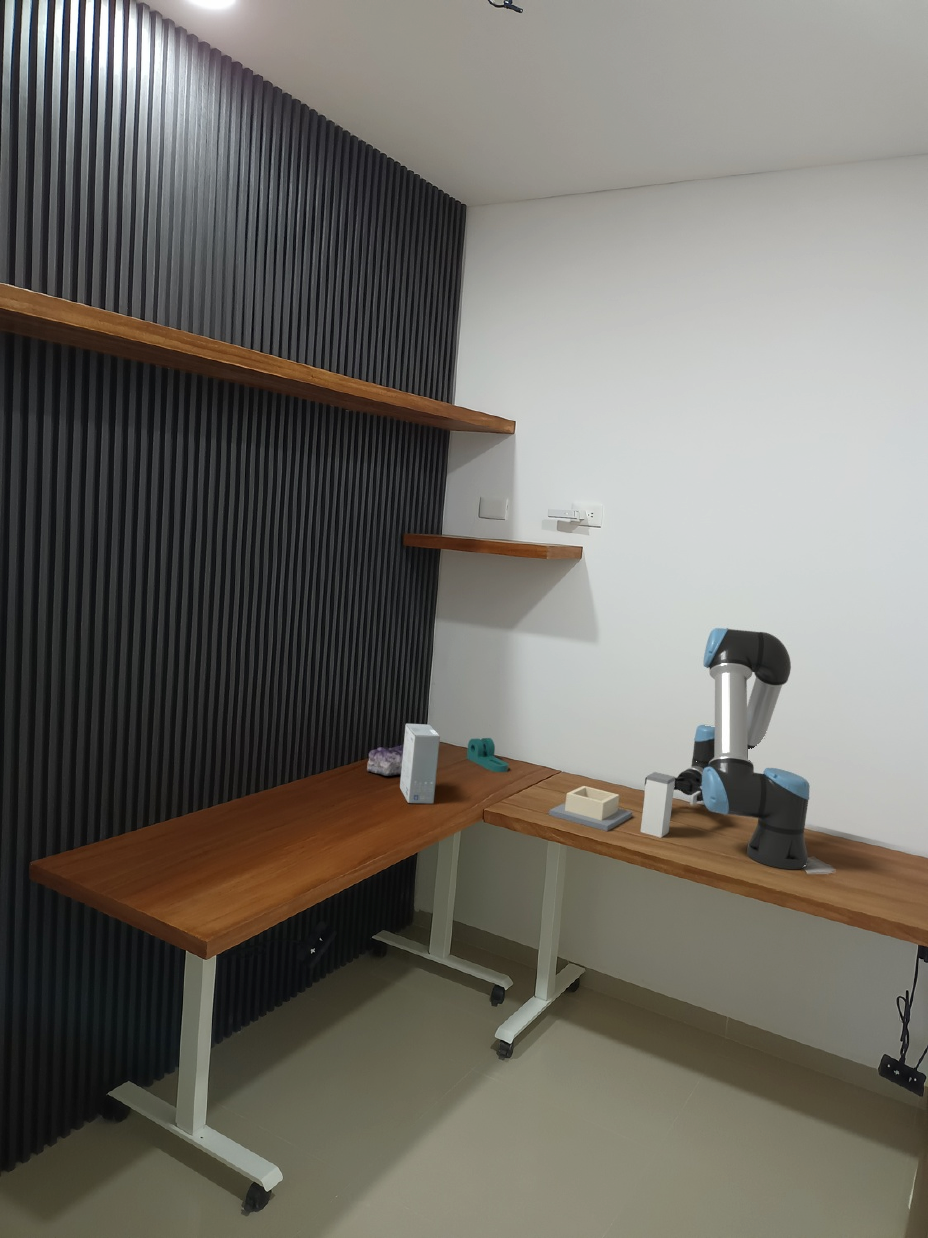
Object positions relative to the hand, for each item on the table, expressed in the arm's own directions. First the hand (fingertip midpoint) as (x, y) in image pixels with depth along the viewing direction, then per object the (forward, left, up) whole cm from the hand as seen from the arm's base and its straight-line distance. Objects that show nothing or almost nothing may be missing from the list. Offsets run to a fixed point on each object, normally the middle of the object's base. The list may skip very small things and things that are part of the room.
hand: (668, 794), depth 257 cm
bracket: (+68, -14, -9) cm, 70 cm away
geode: (+83, +18, -9) cm, 85 cm away
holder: (+19, +10, -9) cm, 23 cm away
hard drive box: (+64, +34, -9) cm, 73 cm away
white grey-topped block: (0, +9, -9) cm, 13 cm away
